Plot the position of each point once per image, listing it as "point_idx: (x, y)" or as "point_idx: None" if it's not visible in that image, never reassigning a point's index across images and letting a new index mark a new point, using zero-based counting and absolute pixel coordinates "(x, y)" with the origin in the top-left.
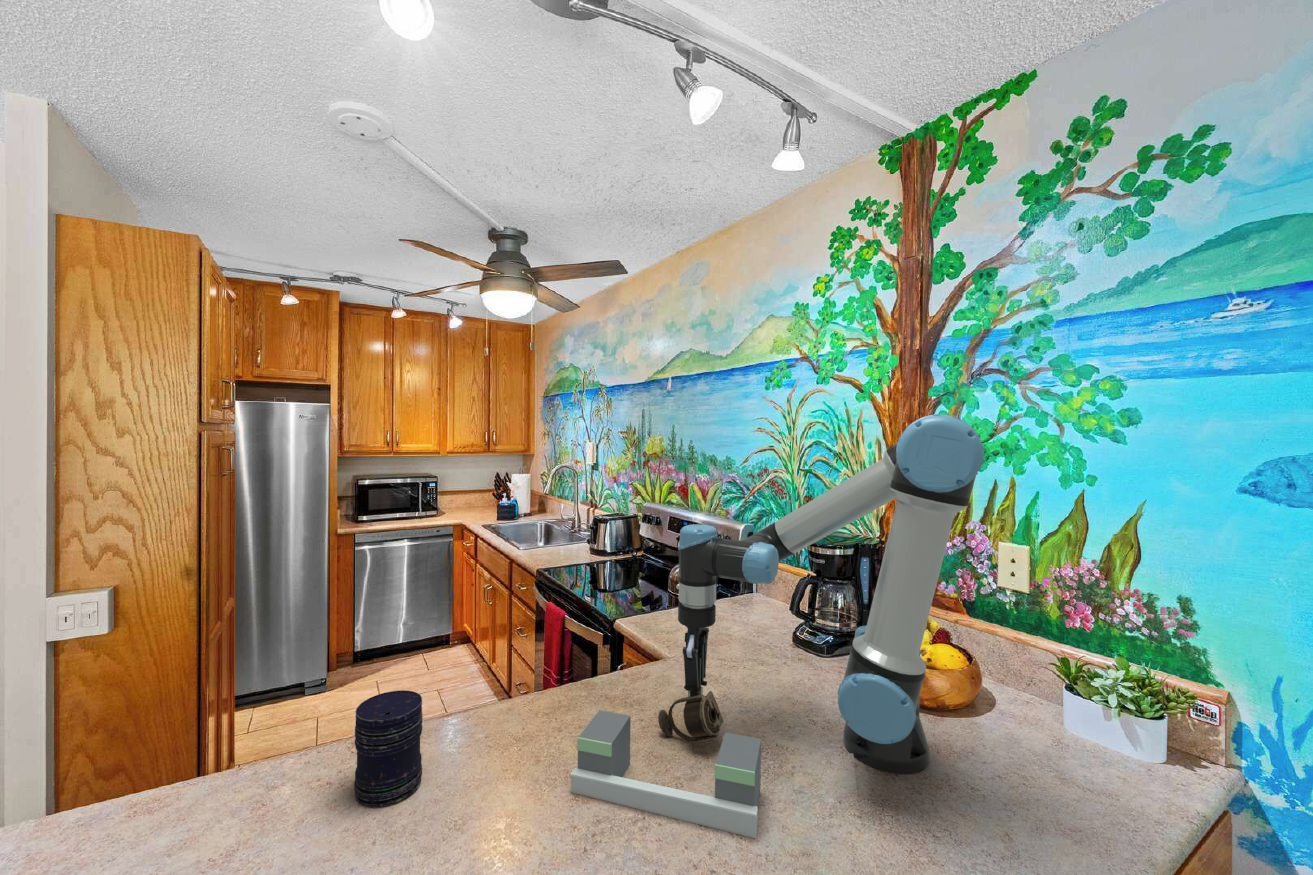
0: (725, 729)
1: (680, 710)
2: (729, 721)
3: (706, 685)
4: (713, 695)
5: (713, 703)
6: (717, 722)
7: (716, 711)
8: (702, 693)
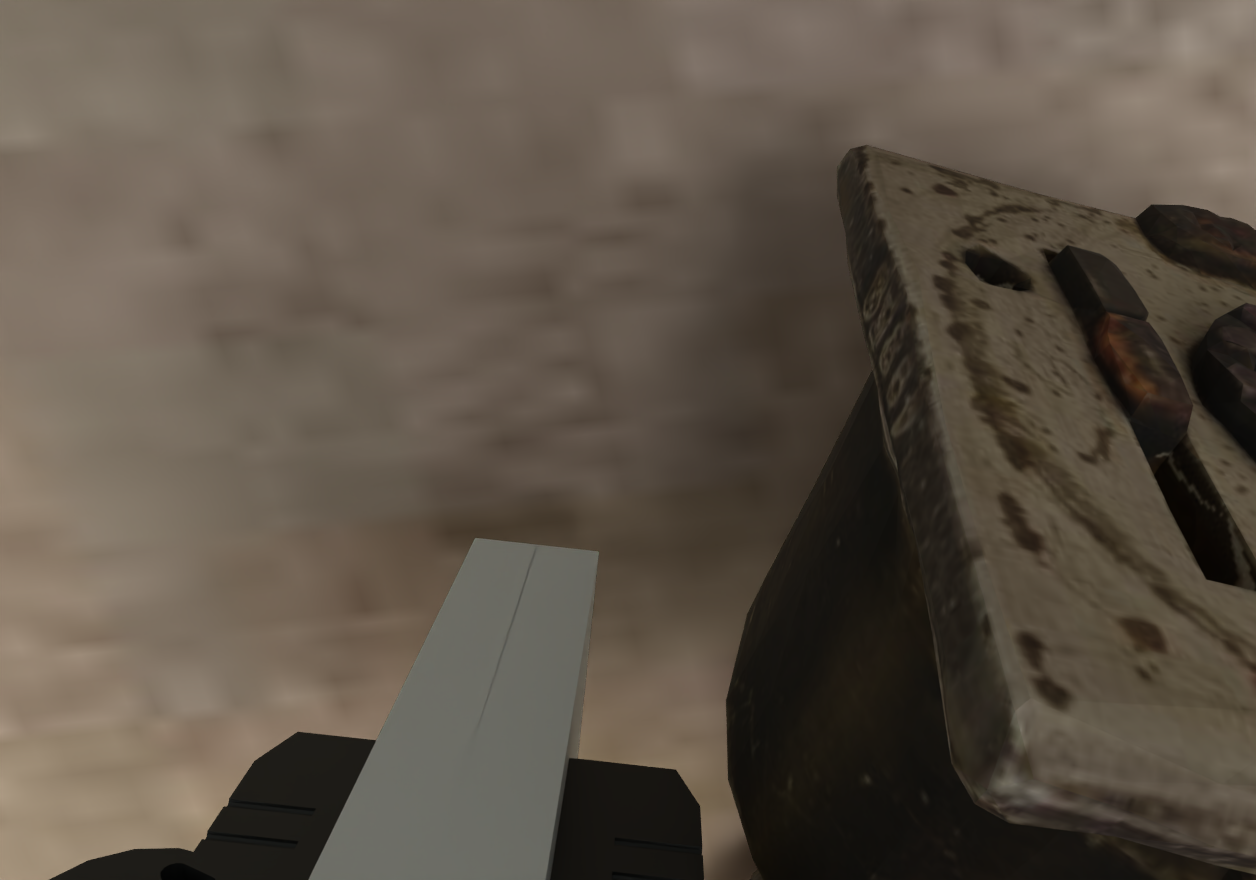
0: (432, 138)
1: (127, 818)
2: (176, 89)
3: (182, 856)
4: (1011, 584)
5: (1157, 495)
6: (1154, 272)
7: (1162, 344)
8: (400, 823)
